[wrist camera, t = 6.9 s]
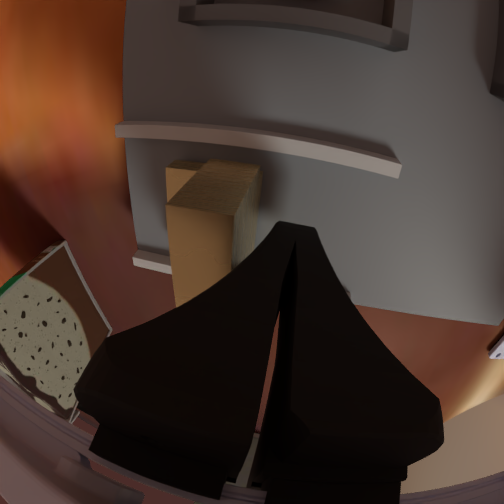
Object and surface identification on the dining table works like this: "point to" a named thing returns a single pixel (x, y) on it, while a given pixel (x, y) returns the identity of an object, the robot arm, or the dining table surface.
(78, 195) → the dining table surface
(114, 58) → the dining table surface
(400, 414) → the robot arm
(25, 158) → the dining table surface
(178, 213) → the tall mustard sponge block
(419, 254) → the control panel
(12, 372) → the food container
